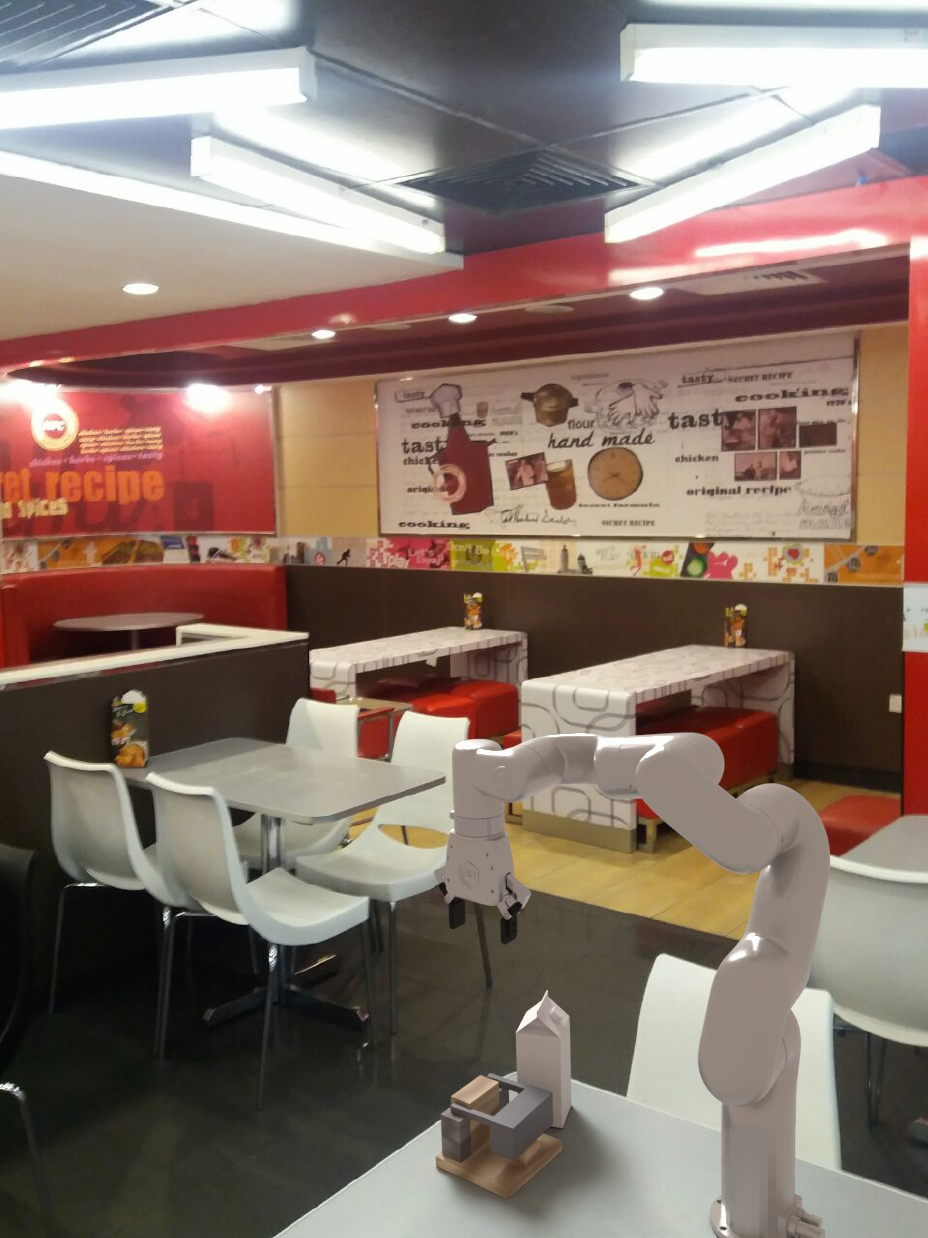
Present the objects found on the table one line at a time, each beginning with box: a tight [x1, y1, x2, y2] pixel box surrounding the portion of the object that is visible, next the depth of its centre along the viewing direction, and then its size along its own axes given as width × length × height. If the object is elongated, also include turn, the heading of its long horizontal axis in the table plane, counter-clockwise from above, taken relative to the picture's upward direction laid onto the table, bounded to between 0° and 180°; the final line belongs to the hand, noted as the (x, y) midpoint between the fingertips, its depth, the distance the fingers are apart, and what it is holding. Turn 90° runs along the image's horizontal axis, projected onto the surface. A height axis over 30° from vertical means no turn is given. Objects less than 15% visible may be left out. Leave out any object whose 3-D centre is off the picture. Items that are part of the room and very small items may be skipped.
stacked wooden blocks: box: [435, 1074, 563, 1200], centre depth 167 cm, size 13×14×10 cm
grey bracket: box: [450, 1072, 553, 1161], centre depth 167 cm, size 11×11×5 cm
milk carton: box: [515, 989, 572, 1129], centre depth 177 cm, size 7×7×19 cm
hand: (482, 933), depth 169 cm, fingers open, 9 cm apart
